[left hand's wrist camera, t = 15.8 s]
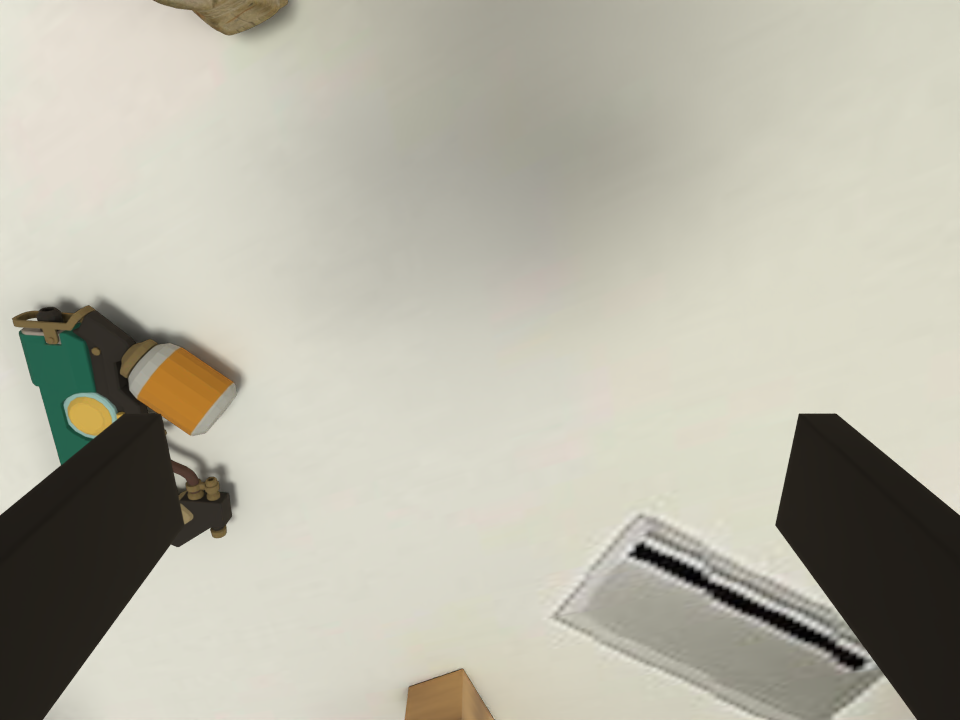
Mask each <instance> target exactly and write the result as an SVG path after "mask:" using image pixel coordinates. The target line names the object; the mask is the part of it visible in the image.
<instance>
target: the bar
mask: <svg viewBox="0 0 960 720" xmlns="http://www.w3.org/2000/svg"><path fill="white" fill-rule="evenodd" d="M405 720H494V719H493V717H492V716H491V714H490V712H489V711H488V709H487V707H486V706H485V704H484V703H483V701H482V699H481V698H480V696H479V694H478V693H477V691H476V690H475V688H474V686H473V685H472V683H471V681H470V680H469V678H468V676H467V675H466V673H465V672H464V670H463V669H461V670H458V671H455V672H452V673H450V674H447V675H444V676H441V677H438V678H435V679H432V680H429V681H426V682H423V683H420V684H417V685H414V686H411V687H409V690H408V698H407V706H406V714H405Z"/></svg>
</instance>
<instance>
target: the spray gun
mask: <svg viewBox="0 0 960 720" xmlns="http://www.w3.org/2000/svg"><path fill="white" fill-rule="evenodd" d="M31 318H37V320H38V321H29V320H28V319H31ZM12 320H13V324H14V326H15V327H24V328H23V329H22V330H20V331H19V336H20V340H21V343H22V347H23V351H24V354H25V358H26V362H27V365H28V369H29V373H30V376H31V380H32V382H33V384H34V385H35V386H39V388H40V392H41V395H42V399H43V402H44V406H45V409H46V413H47V417H48V420H49V424H50V427H51V431H52V435H53V438H54V442H55V445H56V449H57V452H58V456H59V460H60V463H61V465H62V464H63V463H65V462H66V461H67V460H68V459H69V458H71V457H72V456H73V455H74V454H75V453H77V452H78V451H79V450H80V449H82V448H83V447H84V446H85V445H86V444H88V443H89V442H90V441H91V440H92V439H94V438H95V437H96V436H97V435H99V434H100V433H101V432H102V431H103V430H105V429H106V428H107V427H108V426H109V425H111V424H112V423H113V422H114V421H116V420H117V419H118V418H119V417H120V416H122V415H123V414H148V411H147V406H148V407H149V408H151V409H152V410H154V411H155V412H157V413H158V414H161V416H163V417H164V418H165V419H167V420H168V421H170V422H171V423H173V424H174V425H176V426H177V427H179V428H180V429H182V430H183V431H185V432H186V433H187V434H189V435H191V436H195V435H200V434H204V433H206V432H207V431H208V430H209V429H210V428H211V427H212V425H213V424H214V423H215V422H216V421H217V420H218V418H219V417H220V416H221V415H222V413H223V412H224V411H225V410H226V408H227V407H228V406H229V405H230V403H231V402H232V401H233V399H234V398H235V396H236V395H237V392H236V385H235V383H234V382H232V381H231V380H229V379H228V378H226V377H225V376H223V375H222V374H221V373H219V372H218V371H216V370H215V369H213V368H212V367H210V366H209V365H207V364H206V363H204V362H203V361H201V360H200V359H198V358H197V357H195V356H194V355H192V354H191V353H190V352H188V351H187V350H185V349H184V348H182V347H179V346H176V345H174V344H171V343H167V344H159V345H158V343H156V342H155V341H153V340H151V339H148V340H146V341H144V342H141V343H136V342H135V341H134V340H133V339H132V338H131V337H130V336H129V335H127V334H126V333H125V332H123V331H122V330H121V329H120V328H118V327H117V326H116V325H114V324H113V323H112V322H110V321H109V320H108V319H106V318H105V317H104V316H103V315H101V314H100V313H99V312H97V311H95V309H94V308H92V307H91V306H89V305H88V306H85V307H83V308H81V309H80V310H78V311H77V312H76V313H63V312H60V311H59V310H58V309H56V308H54V307H47V308H43V309H40V310H39V311H29V312H25V313H22V314H19V315H17V316H15V317H14V318H12ZM78 321H79V322H81V323H77V322H78ZM76 323H77V324H76ZM135 343H136V344H135ZM127 378H128V379H127ZM128 381H129V382H128ZM164 430H165V429H164ZM166 434H167V432H166V430H165V435H166ZM171 463H172V468H173V472H174V473H177V474H179V475H181V476H182V477H184V478H185V479H186V480H187V482H186V491H184V492H182V493H181V494H180V495H179V501H180V506H181V510H182V515H183V520H184V527H183V528H182V530H181V531H180V532H179V534H178V535H177V536H176V538H175V539H174V541H173V542H172V543H171V545H174V546H176V547H180V546H181V545H183V544H185V543H186V542H188V541H190V540H191V539H193V538H194V537H196V536H198V535H199V534H201V533H203V532H204V531H206V530H207V529H209V528H211V529H210V530H211V533H212V537H214V538H221V537H223V536H225V535H226V533H227V528H226V524H227V523H228V521H229V520H230V518H231V517H232V512H231V505H230V498H229V493H227V492H219V491H218V490H219V489H220V488H219V482H218V481H217V478H216V477H209V478H208V479H206V481H205V482H201V480H200V479H199V478H198V477H197V476H196V474H195V473H194V472H193V471H192V470H191V469H189V468H188V467H186V466H184V465H182V464H179V463H177V462H175V461H173V460H171ZM203 490H205V491H203Z"/></svg>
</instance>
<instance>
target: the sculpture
mask: <svg viewBox="0 0 960 720" xmlns="http://www.w3.org/2000/svg"><path fill="white" fill-rule="evenodd" d="M154 1H156V2H158V3H160V4H163V5H166V6H170V7H174V8H178V9H187V10H192V11H193V12H194V13H196V14H197V15H198V16H199V17H200V18H201V19H202V20H203V21H205V22H206V23H207V24H208V25H210V26H211V27H212V28H214V29H215V30H217V31H219V32H221V33H223V34H225V35H234V34H237V33H240V32H243V31H245V30H247V29H250V28H252V27H254V26H256V25H258V24H260V23H262V22H264V21H266V20H267V19H269V18H271V17H272V16H273V15H274V14H276V13H277V12H278V10H279V9H280V8H282V7H284V6H285V5H287V3H288V0H154Z"/></svg>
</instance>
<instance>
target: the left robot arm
mask: <svg viewBox="0 0 960 720" xmlns="http://www.w3.org/2000/svg"><path fill="white" fill-rule="evenodd" d="M183 527H184V520H183V515H182V510H181V506H180V501H179V496H178V491H177V487H176V482H175V477H174V473H173V468H172V463H171V458H170V454H169V449H168V444H167V439H166V435H165V430H164V425H163V421H162V416H161V414H123V415H122V416H120V417H119V418H118V419H117V420H116V421H114V422H113V423H112V424H111V425H109V426H108V427H107V428H106V429H105V430H103V431H102V432H101V433H100V434H99V435H97V436H96V437H95V438H94V439H92V440H91V441H90V442H89V443H88V444H86V445H85V446H84V447H83V448H82V449H80V450H79V451H78V452H77V453H75V454H74V455H73V456H72V457H71V458H69V459H68V460H67V461H66V462H65V463H63V464H62V465H61V466H60V467H58V468H57V469H56V470H55V471H54V472H52V473H51V474H50V475H49V476H48V477H46V478H45V479H44V480H43V481H41V482H40V483H39V484H38V485H37V486H35V487H34V488H33V489H32V490H31V491H29V492H28V493H27V494H26V495H24V496H23V497H22V498H21V499H20V500H18V501H17V502H16V503H15V504H13V505H12V506H11V507H10V508H9V509H7V510H6V511H5V512H4V513H3V514H1V515H0V720H43V719H44V717H45V716H46V715H47V713H48V712H49V710H50V709H51V708H52V706H53V705H54V704H55V702H56V701H57V699H58V698H59V697H60V695H61V694H62V693H63V691H64V690H65V689H66V687H67V686H68V684H69V683H70V682H71V680H72V679H73V678H74V676H75V675H76V673H77V672H78V671H79V669H80V668H81V667H82V665H83V664H84V662H85V661H86V660H87V658H88V657H89V656H90V654H91V653H92V652H93V650H94V649H95V647H96V646H97V645H98V643H99V642H100V641H101V639H102V638H103V636H104V635H105V634H106V632H107V631H108V630H109V628H110V627H111V625H112V624H113V623H114V621H115V620H116V619H117V617H118V616H119V615H120V613H121V612H122V610H123V609H124V608H125V606H126V605H127V604H128V602H129V601H130V599H131V598H132V597H133V595H134V594H135V593H136V591H137V590H138V588H139V587H140V586H141V584H142V583H143V582H144V580H145V579H146V578H147V576H148V575H149V573H150V572H151V571H152V569H153V568H154V567H155V565H156V564H157V562H158V561H159V560H160V558H161V557H162V556H163V554H164V553H165V552H166V550H167V549H168V547H169V546H170V545H171V543H172V542H173V541H174V539H175V538H176V536H177V535H178V534H179V532H180V531H181V530H182V528H183ZM776 527H777V528H778V530H779V531H780V532H781V534H782V535H783V536H784V538H785V539H786V541H787V542H788V543H789V545H790V546H791V547H792V549H793V550H794V552H795V553H796V554H797V556H798V557H799V558H800V560H801V561H802V562H803V564H804V565H805V567H806V568H807V569H808V571H809V572H810V573H811V575H812V576H813V578H814V579H815V580H816V582H817V583H818V584H819V586H820V587H821V588H822V590H823V591H824V593H825V594H826V595H827V597H828V598H829V599H830V601H831V602H832V604H833V605H834V606H835V608H836V609H837V610H838V612H839V613H840V615H841V616H842V617H843V619H844V620H845V621H846V623H847V624H848V625H849V627H850V628H851V630H852V631H853V632H854V634H855V635H856V636H857V638H858V639H859V641H860V642H861V643H862V645H863V646H864V647H865V649H866V650H867V652H868V653H869V654H870V656H871V657H872V658H873V660H874V661H875V662H876V664H877V665H878V667H879V668H880V669H881V671H882V672H883V673H884V675H885V676H886V678H887V679H888V680H889V682H890V683H891V684H892V686H893V687H894V689H895V690H896V691H897V693H898V694H899V695H900V697H901V698H902V699H903V701H904V702H905V704H906V705H907V706H908V708H909V709H910V710H911V712H912V713H913V715H914V716H915V717H916V719H917V720H960V515H959V514H957V513H956V512H955V511H954V510H953V509H951V508H950V507H949V506H948V505H947V504H945V503H944V502H943V501H942V500H940V499H939V498H938V497H937V496H936V495H934V494H933V493H932V492H931V491H929V490H928V489H927V488H926V487H925V486H923V485H922V484H921V483H920V482H919V481H917V480H916V479H915V478H914V477H912V476H911V475H910V474H909V473H908V472H906V471H905V470H904V469H903V468H902V467H900V466H899V465H898V464H897V463H895V462H894V461H893V460H892V459H891V458H889V457H888V456H887V455H886V454H885V453H883V452H882V451H881V450H880V449H878V448H877V447H876V446H875V445H874V444H872V443H871V442H870V441H869V440H868V439H866V438H865V437H864V436H863V435H861V434H860V433H859V432H858V431H857V430H855V429H854V428H853V427H852V426H851V425H849V424H848V423H847V422H846V421H844V420H843V419H842V418H841V417H840V416H838V415H837V414H799V416H798V421H797V425H796V430H795V435H794V439H793V444H792V449H791V454H790V458H789V463H788V468H787V473H786V477H785V482H784V487H783V491H782V496H781V501H780V506H779V510H778V515H777V520H776Z"/></svg>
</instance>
